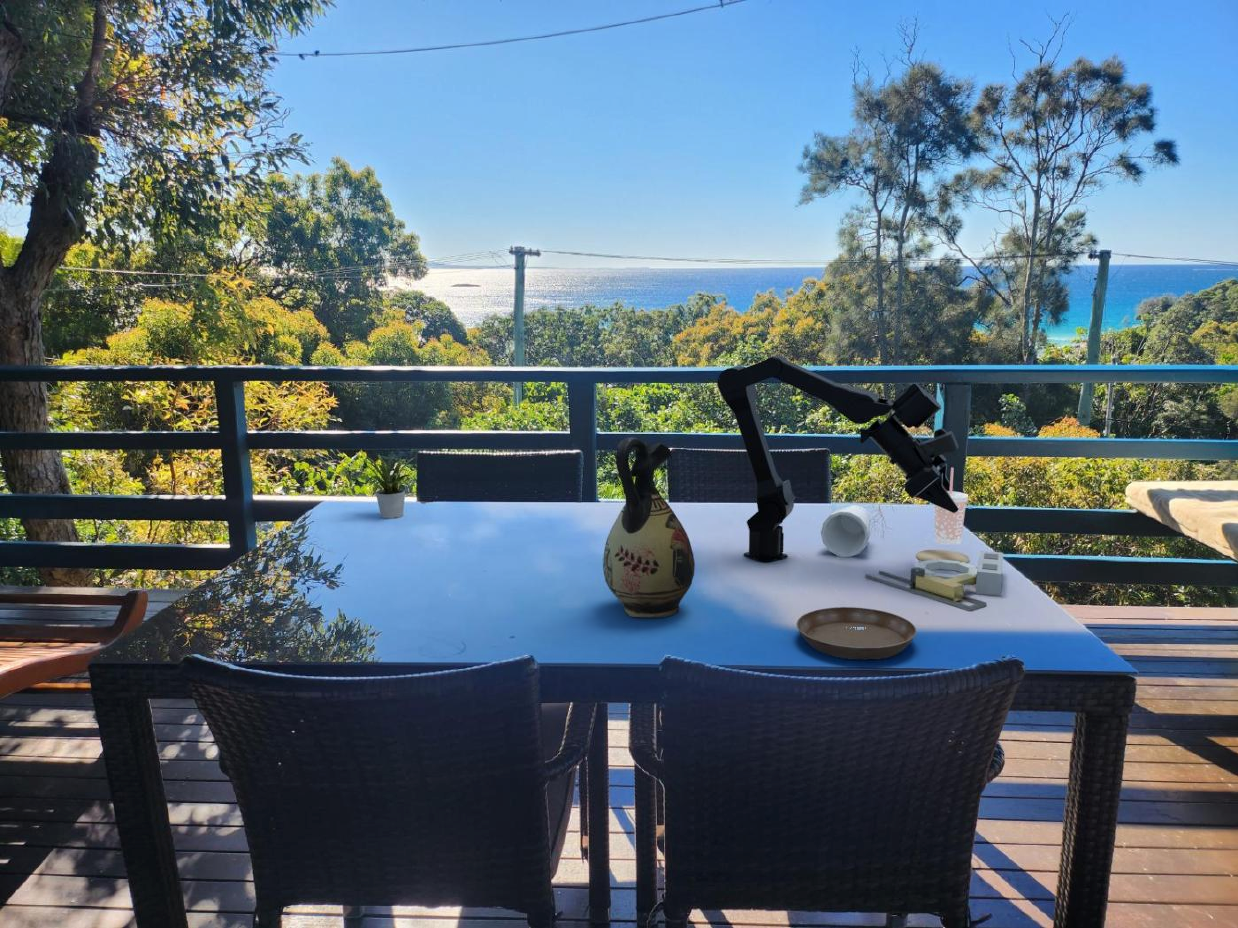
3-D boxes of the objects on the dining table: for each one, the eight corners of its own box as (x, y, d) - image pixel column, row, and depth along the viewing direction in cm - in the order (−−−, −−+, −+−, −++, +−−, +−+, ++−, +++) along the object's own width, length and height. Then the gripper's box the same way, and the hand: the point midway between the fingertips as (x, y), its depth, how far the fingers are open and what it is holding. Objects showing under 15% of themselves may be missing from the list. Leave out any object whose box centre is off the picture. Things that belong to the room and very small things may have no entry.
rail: (969, 611, 151) (970, 607, 151) (865, 577, 169) (865, 574, 169) (986, 605, 153) (986, 602, 153) (881, 573, 172) (881, 570, 172)
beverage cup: (943, 547, 165) (948, 471, 162) (923, 538, 171) (927, 465, 168) (972, 544, 167) (977, 469, 164) (951, 536, 172) (956, 463, 170)
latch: (953, 601, 154) (954, 582, 154) (907, 587, 163) (908, 568, 162) (983, 592, 159) (984, 574, 158) (936, 578, 167) (937, 561, 166)
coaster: (947, 568, 174) (947, 566, 174) (905, 556, 182) (905, 554, 182) (979, 559, 179) (979, 558, 179) (937, 548, 187) (937, 546, 187)
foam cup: (870, 546, 193) (861, 563, 182) (828, 533, 197) (816, 549, 185) (882, 505, 191) (873, 519, 179) (839, 492, 194) (827, 505, 182)
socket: (910, 586, 164) (911, 564, 163) (918, 564, 177) (919, 543, 176) (1000, 595, 158) (1001, 573, 157) (1001, 572, 171) (1003, 551, 170)
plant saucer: (774, 632, 143) (774, 614, 143) (867, 617, 149) (868, 599, 149) (839, 675, 127) (840, 654, 126) (941, 655, 133) (942, 636, 133)
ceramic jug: (640, 589, 165) (639, 426, 159) (712, 606, 155) (712, 433, 149) (578, 615, 152) (574, 439, 146) (651, 636, 142) (650, 447, 136)
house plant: (345, 521, 218) (340, 454, 215) (376, 508, 231) (372, 445, 228) (397, 524, 214) (393, 457, 211) (426, 511, 227) (422, 447, 224)
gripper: (927, 423, 158) (991, 489, 155) (936, 410, 174) (994, 470, 172) (879, 464, 162) (940, 529, 160) (892, 447, 179) (948, 507, 177)
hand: (957, 507), depth 167 cm, fingers closed on beverage cup, 6 cm apart
